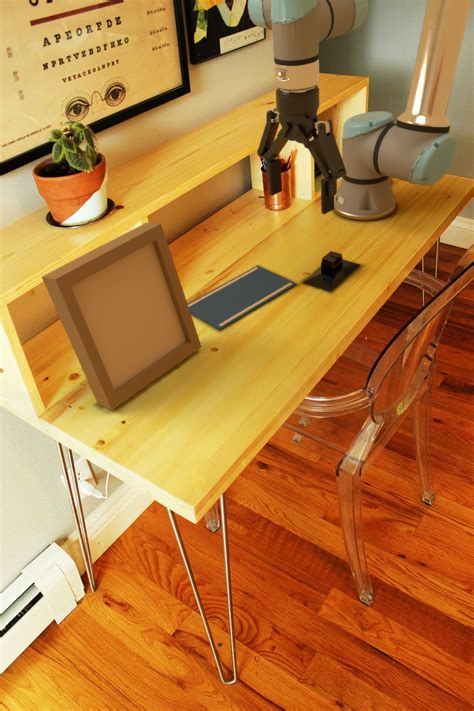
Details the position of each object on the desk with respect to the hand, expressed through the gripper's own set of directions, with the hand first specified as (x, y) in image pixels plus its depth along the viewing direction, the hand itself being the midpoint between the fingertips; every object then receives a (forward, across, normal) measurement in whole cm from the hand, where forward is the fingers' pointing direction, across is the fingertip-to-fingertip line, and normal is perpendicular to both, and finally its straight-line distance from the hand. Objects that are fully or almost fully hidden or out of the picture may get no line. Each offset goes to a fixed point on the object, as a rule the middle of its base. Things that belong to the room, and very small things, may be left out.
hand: (301, 201), depth 121 cm
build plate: (+20, +1, +8) cm, 22 cm away
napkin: (+20, -8, -11) cm, 24 cm away
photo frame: (+20, -6, -40) cm, 45 cm away
